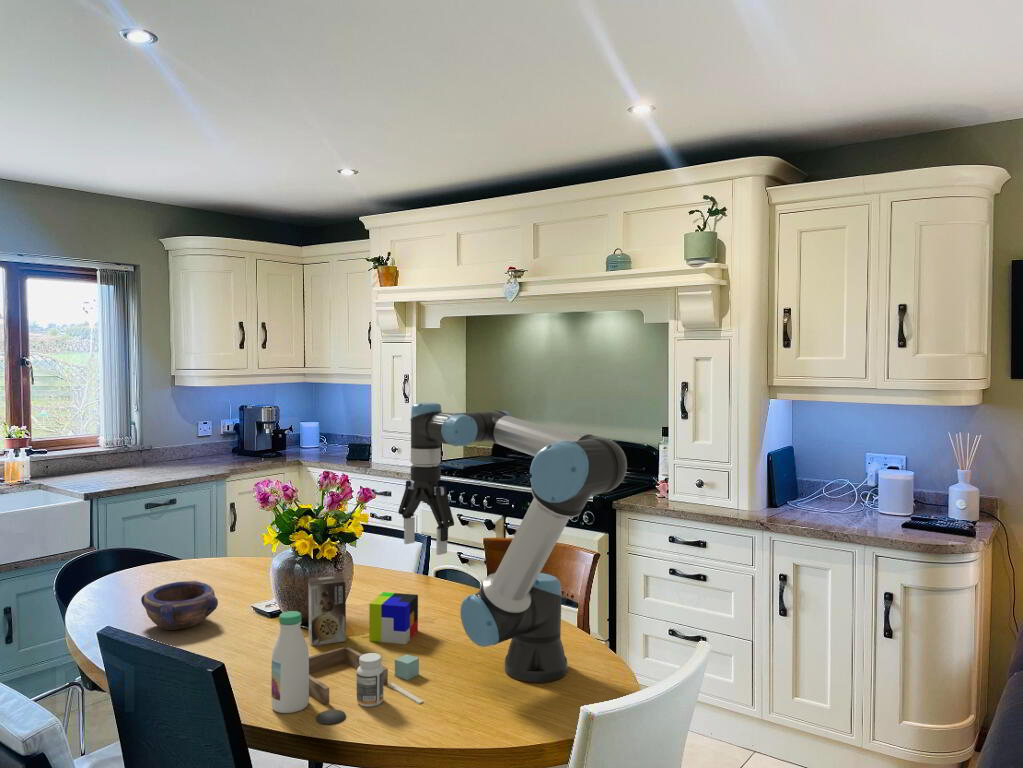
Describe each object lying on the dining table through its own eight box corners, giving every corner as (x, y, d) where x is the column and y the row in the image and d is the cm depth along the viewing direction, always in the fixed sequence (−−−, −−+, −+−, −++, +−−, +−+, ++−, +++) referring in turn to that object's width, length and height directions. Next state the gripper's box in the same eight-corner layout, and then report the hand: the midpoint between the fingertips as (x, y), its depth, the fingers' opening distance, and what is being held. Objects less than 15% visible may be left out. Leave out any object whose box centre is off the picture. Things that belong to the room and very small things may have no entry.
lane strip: (423, 702, 167) (423, 700, 167) (419, 703, 166) (419, 702, 166) (392, 684, 175) (392, 683, 175) (387, 685, 175) (387, 684, 175)
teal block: (418, 674, 181) (419, 658, 181) (407, 680, 178) (407, 663, 178) (406, 670, 183) (406, 654, 183) (394, 676, 180) (394, 659, 180)
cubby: (387, 683, 176) (387, 668, 176) (325, 704, 165) (325, 688, 165) (346, 659, 189) (346, 645, 189) (286, 678, 178) (286, 663, 178)
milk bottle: (312, 697, 168) (312, 607, 167) (304, 714, 160) (304, 620, 160) (277, 697, 168) (276, 607, 167) (266, 714, 160) (266, 620, 159)
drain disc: (351, 718, 159) (351, 716, 159) (325, 727, 155) (325, 726, 155) (336, 708, 163) (336, 706, 163) (310, 717, 159) (310, 715, 159)
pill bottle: (369, 693, 171) (369, 649, 170) (388, 700, 167) (389, 655, 167) (351, 703, 166) (351, 658, 165) (370, 710, 163) (370, 664, 162)
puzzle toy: (405, 644, 200) (405, 606, 199) (369, 641, 202) (369, 603, 201) (417, 630, 209) (418, 594, 209) (383, 627, 211) (383, 592, 211)
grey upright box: (342, 633, 207) (342, 574, 206) (346, 642, 201) (346, 581, 200) (307, 637, 203) (307, 577, 203) (310, 646, 197) (310, 584, 197)
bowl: (154, 642, 199) (154, 604, 198) (136, 623, 213) (136, 587, 212) (224, 627, 210) (224, 591, 210) (202, 610, 224) (202, 576, 224)
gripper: (469, 469, 185) (468, 555, 186) (409, 457, 204) (408, 536, 204) (444, 472, 180) (443, 561, 181) (385, 460, 199) (384, 541, 199)
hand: (425, 548), depth 193 cm, fingers open, 13 cm apart
